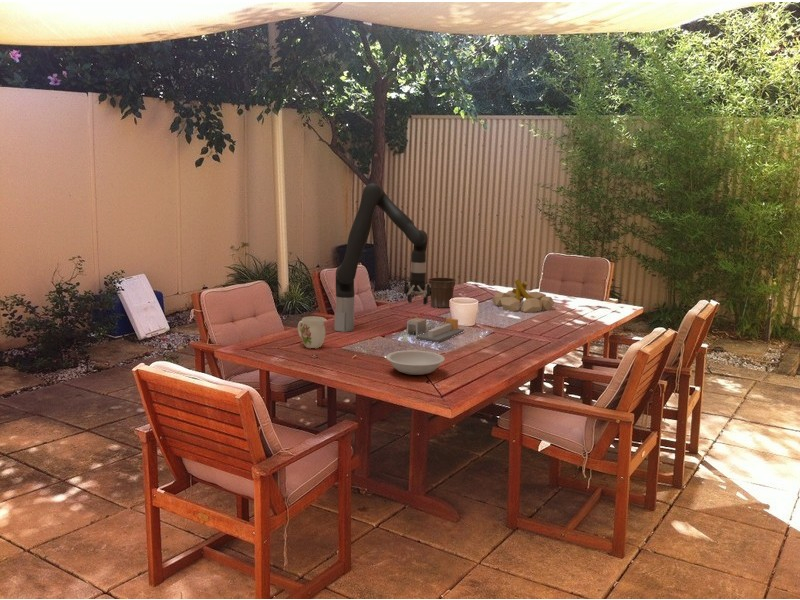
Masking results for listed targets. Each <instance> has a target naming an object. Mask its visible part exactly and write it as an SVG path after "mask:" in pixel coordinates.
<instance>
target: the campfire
mask: <svg viewBox="0 0 800 600" xmlns="http://www.w3.org/2000/svg"><path fill="white" fill-rule="evenodd" d="M514 284H515V287H516V288H514V287H513V288H512V290H508V291H507V292H499V291H497V292H496V293H495V294H494V296H493V297H492V299H491V301H492V302H493V305H494V306H495V307H502V309H503V311H507V310H509V311H508V312H517V311H519V309H520V311H521V312H523V313H538V312H540V311H550V310H551V309H552V307H553V306H554V305H555V302H554V299H553V298H552V296H547V294H545V293H543V292H539V291H532V292H527V290H526V288H527V286H528V285H529V283H528V281H526V280H524V281H523V282H521V281H520V280H519V279H516V280H515V281H514ZM524 299H525V300H524ZM522 302H523V303H522ZM521 303H522V305H521ZM520 306H521V308H520ZM542 309H544V310H542ZM537 311H538V312H537Z"/></svg>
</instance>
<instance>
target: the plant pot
mask: <svg viewBox="0 0 800 600" xmlns="http://www.w3.org/2000/svg"><path fill="white" fill-rule="evenodd" d="M427 280H428V284H431V291H432V295H431V296H430V306H431V307H432V306H433V307H432V308H435V307H439V308H438V309H443V308H445V309H447V308H448V309H450V307H449V300H450V299H451V298H452V299H453V297H454V288H455V285H456V284H455V283H456V279H455V278H451V277H430V278H428V279H427Z"/></svg>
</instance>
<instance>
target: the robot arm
mask: <svg viewBox="0 0 800 600" xmlns="http://www.w3.org/2000/svg"><path fill="white" fill-rule="evenodd" d="M358 207H359V208H358V210H357V213H356V214H355V217H354V220H353V222H352V226H351V227H350V228H351V229H350V230H349V231H350V232H349V234H348V237H347V244H346V250H345V255H344V258H343V260H342V262H341V264H340V265H338V266H337V268H336V270H335V312H334V331H337V332H342V333H346V332H353V331H354V330H355V278H356V275H357V270H358V265H359V261H360V259H361V255H362V253H363V251H364V249H365V247H366V244H367V242H368V239H369V236H370V232H371V228H372V223H373V222H372V221H373V214H374V211H375V208H376V207H378V208H380V209H381V210H382V211H383V212H384V213H385V214H386V216H387V217H388V218H389V219H390V220H391V222H393V224H394V225H395V226H396V227H397V228H398V229H399V230H400V231H401V232H403V234H404V235H405V237H406V238H407V239H408V241H410V243H412V244H413V250H412V252H411V261H410V262H411V263H410V281H404V289H403V293H404V294H406V295H407V302H408V303H412V300H413V297H412V294H413V292H417V293H420V294H421V295H423V297H422V298H423V305H424V306H426V305H427V304H428V302H429V301H428V298H429V297H431V295H432V291H431V284H429V283H426V280H427V264H426V263H427V262H426V261H427V258H426V257H427V247H428V239H429V237H428V233H427V232H426V231H424V230H422V229H419V228H417V227H416V225H415V223H414V221H413V220H412V219H411V218H410V217H409V216H408V215H407V214H406V213H405V212H404V211H403V210H402V209H400V207H398V206H397V205H396V204H395V203H394V202H393V201H392V200H391V199H390V197H388V195H387V194H386V193H385V190H383V187H382V186H380V184H377V183H374V182H373V183H372V182H371V183H370V182H369V183H367V184H366V185H365V186H364V188H363V190H362V194H361V199H360V204H359V206H358Z"/></svg>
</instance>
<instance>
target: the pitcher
mask: <svg viewBox="0 0 800 600" xmlns="http://www.w3.org/2000/svg"><path fill="white" fill-rule="evenodd" d="M326 321H327V319H326V318H325V317H323V316H314V315H313V316H304V317H302V318H301V320H299V322H298V324H297V334H298V335H299V337H300V338H301V340H302V343H303V346H305V348H306V349H311V348H315V349H319V347H320V348H321V346H322V345H323V344H324V341H325V339H326V338H325V337H326V326H325V322H326Z"/></svg>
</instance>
